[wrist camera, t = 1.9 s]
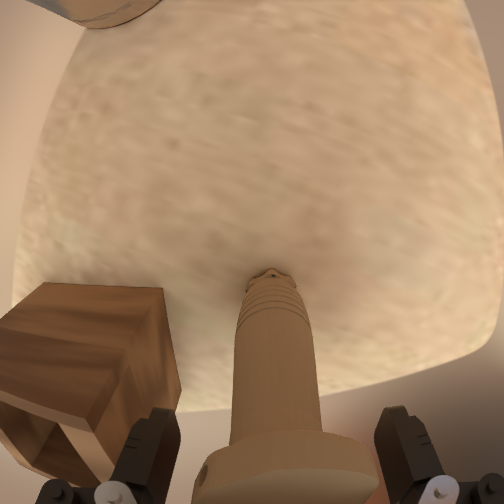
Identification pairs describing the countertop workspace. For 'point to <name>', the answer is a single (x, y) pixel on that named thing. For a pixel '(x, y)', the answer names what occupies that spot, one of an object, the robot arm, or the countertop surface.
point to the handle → (280, 415)
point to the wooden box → (82, 376)
